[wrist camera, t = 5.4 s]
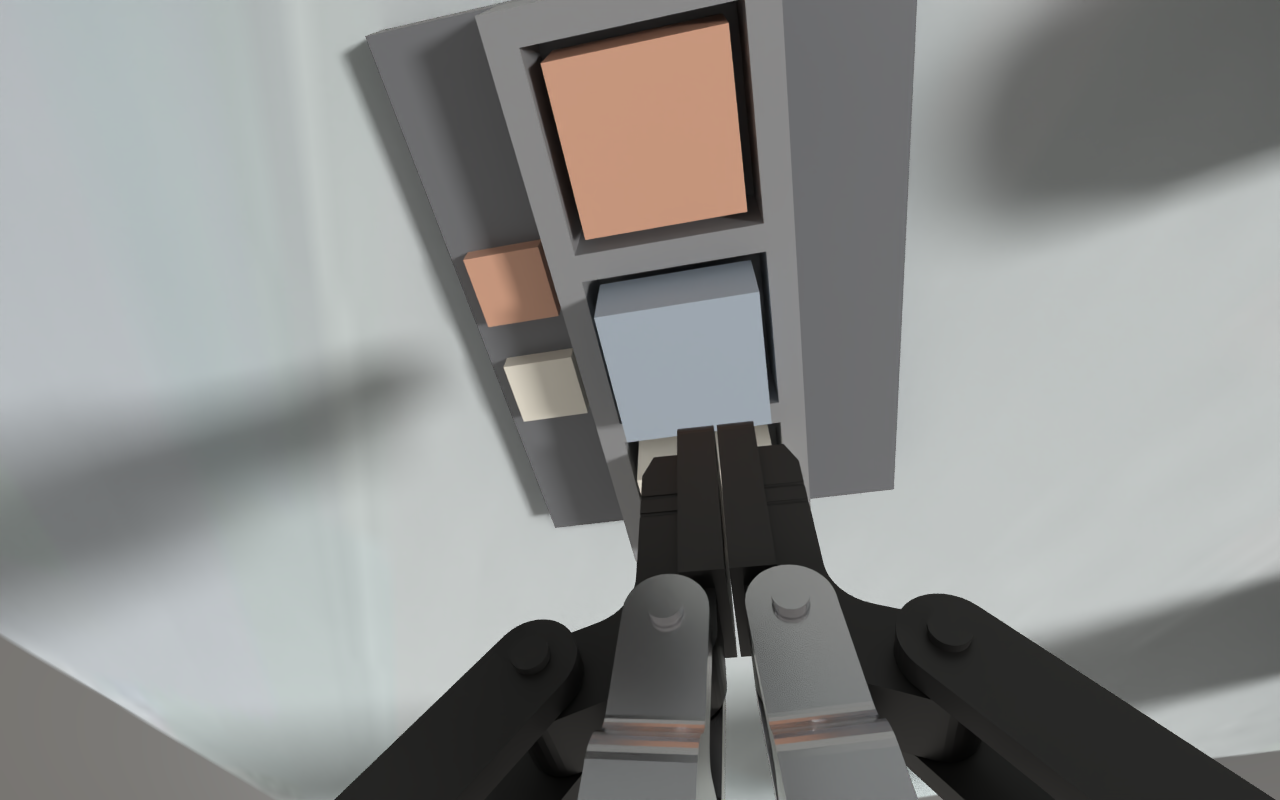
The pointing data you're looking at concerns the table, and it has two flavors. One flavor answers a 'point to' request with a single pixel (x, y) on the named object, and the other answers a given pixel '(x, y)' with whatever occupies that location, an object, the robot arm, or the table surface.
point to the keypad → (676, 225)
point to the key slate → (685, 350)
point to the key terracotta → (649, 126)
